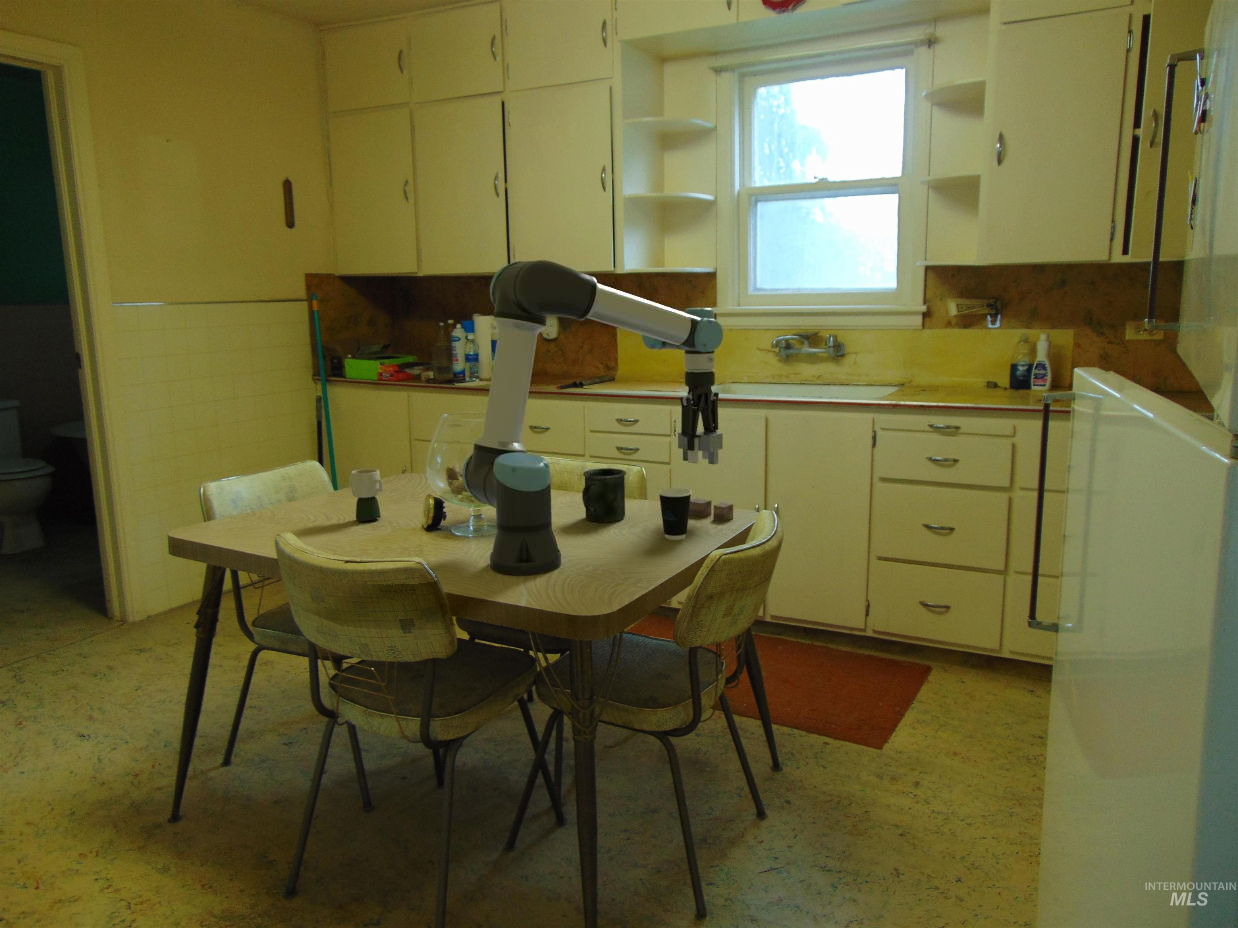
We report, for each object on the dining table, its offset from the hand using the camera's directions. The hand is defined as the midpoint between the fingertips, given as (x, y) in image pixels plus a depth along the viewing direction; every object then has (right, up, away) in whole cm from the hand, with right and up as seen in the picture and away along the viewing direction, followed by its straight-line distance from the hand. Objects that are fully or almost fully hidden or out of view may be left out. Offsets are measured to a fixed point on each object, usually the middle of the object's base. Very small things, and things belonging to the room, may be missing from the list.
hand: (700, 460), depth 229 cm
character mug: (-86, -16, +3) cm, 87 cm away
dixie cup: (-8, -18, -18) cm, 27 cm away
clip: (0, 0, 0) cm, 0 cm away
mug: (-25, -15, -1) cm, 29 cm away
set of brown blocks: (0, -14, +3) cm, 14 cm away
